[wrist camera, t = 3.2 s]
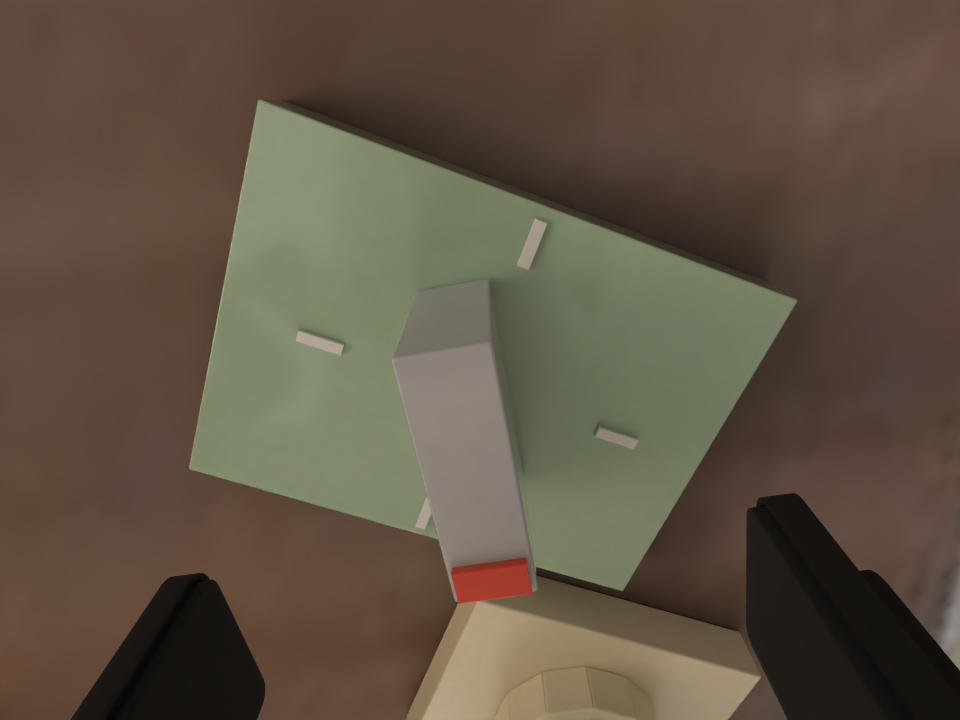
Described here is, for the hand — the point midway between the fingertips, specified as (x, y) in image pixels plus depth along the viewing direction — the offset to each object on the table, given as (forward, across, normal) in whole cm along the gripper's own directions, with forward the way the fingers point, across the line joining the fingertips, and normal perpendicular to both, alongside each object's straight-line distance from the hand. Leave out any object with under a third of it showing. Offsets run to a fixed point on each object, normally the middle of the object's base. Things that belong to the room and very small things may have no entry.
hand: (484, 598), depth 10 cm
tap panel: (+11, 0, 0) cm, 11 cm away
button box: (+10, -1, +16) cm, 19 cm away
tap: (+9, 0, 0) cm, 9 cm away
